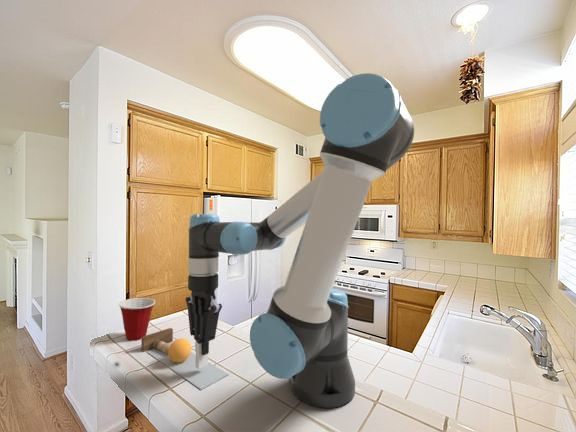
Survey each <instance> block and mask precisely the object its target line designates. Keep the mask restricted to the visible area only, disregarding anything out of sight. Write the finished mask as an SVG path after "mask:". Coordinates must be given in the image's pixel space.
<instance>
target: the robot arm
mask: <svg viewBox="0 0 576 432" xmlns="http://www.w3.org/2000/svg"><path fill="white" fill-rule="evenodd" d="M414 124H415V123H414V121H413V118H412V116H411V114H410V113H409V112H408V110H407V108H406V106H405V104H404V102H403V100H402V96H401V95H400V92H399V91H398V89H397V88H396V87H395V86H394V85H393V84H392V83H391V82H390V81H389V80H388V79H387V78H385V77H384V76H382V75H380V74H376V73H369V72H368V73H367V72H366V73H359V74H355V75H352V76H350V77H348V78H346V79H344V81H343V82H342V83H341V82H340V83H339V84H337V85H336V86H335V87H334V88H333V89H332V90H331V91H330V92H329V94H327V97H326V98H325V99H324V101H323V103H322V105H321V109H320V113H319V126H320V127H321V131H322V135H323V136H324V141H323V143H322V147H321V149H320V152H319V156H320V158H321V162H322V163H323V166H324V168H323V170H322V171H321V172H320V173H318V175H316V176H314V178H313V179H312V180H310V181H309V182H308V183H306V184H305V185H304V186H303V187H302V188H300V189H299V190H298V191H297V192H296V193H294V194H293V195H292V196H291V197H290V198H289V199H287V200H286V201H285V202H283V204H281V205H280V206H279V207H278V208H276V209H275V210H274V211H273V212H271V214H269V215H267V217H265V218H264V219H263V220H261V221H260V222H259V221H258V222H246V221H245V222H244V221H228V222H227V221H226V222H224V221H223V222H220V216H219V215H217V214H205V213H203V214H199V213H198V214H197V213H196V214H192V215H191V216H190V218H189V227H188V260H187V261H188V263H187V265H188V267H187V268H188V269H187V273H188V274H189V275H188V276H187V289H188V291H190V296H186V297H185V303H186V306H187V312H188V313H187V314H188V315H187V316H188V324H189V325H188V326H189V334H190V336H193V339H194V341H195V355H196V362H195V367H196V368H198V369H200V368H202V367H204V366H206V365H208V362H209V352H210V342H211V341H213V340H215V338H216V333H217V329H218V328H217V327H218V322H219V317H220V312H221V310H222V308H223V305H222V303H218V302H217V301H216V298H217V297H216V293H215V291H216V289H218V288H219V274H218V272H219V256H220V253H223V254H231V255H233V256H236V255H237V256H238V255H248V254H250V253H251V252H255V251H256V252H257V251H268V250H269V251H271V250H274V249H278V248H280V247H281V246H283V245H284V243H285V241H286V238H288V236H290V235H291V234H293V233H294V232H295V231H296V230H298V229H299V228H301V227H302V226H304V227H303V230H302V232H301V236H300V239H299V241H298V244H297V249H296V251H295V254H294V257H293V260H292V263H291V266H290V268H289V271H288V275H287V278H286V280H285V283H284V285H283V286H280V287H278V288H276V289H275V290H274V292H273V295H272V297H271V300H270V303H269V307H268V309H267V311H266V312H264V313H261V314H259V315H258V316H257V317H255V319H254V320H253V322H252V324H251V326H250V330H249V342H250V346H251V349H252V352H253V355H254V357H255V359H256V361H257V363H258V364H259V366H260V367H261V368H262V369H263V371H266V373H268V374H269V375H270V376H272V377H274V378H277V379H279V380H280V379H285V380H287V379H290V390H291V392H292V393H293V395H294V396H295V397H296V398H297V399H298V400H300V401H301V402H303V403H304V404H307V405H310V406H313V407H316V408H324V409H325V408H327V409H328V408H329V409H330V408H331V409H332V408H338V407H341V406H342V407H343V406H344V405H346V404H348V403H349V402H351V401H352V400H353V398H354V397H355V394H356V380H355V375H354V372H353V368H352V365H351V362H350V359H349V356H348V348H349V347H348V345H349V344H348V340H349V339H348V338H349V337H348V335H349V333H348V328H349V323H348V322H349V321H348V320H349V319H348V318H349V314H348V313H349V305H348V296H347V294H346V293H345V292H344V291H342V290H340V289H335V288H334V285H335V282H336V280H337V276H338V274H339V271H340V268H341V266H342V263H343V260H344V258H345V255H346V253H347V249H348V248H349V245H350V241H351V240H352V236H353V234H354V231H355V228H356V225H357V223H358V220H359V217H360V214H361V212H362V210H363V207H364V204H365V202H366V199H367V196H368V194H369V191H370V188H371V186H372V183H373V182H374V181H375V180H377V179H379V178H381V177H383V176H385V174H386V173H387V170H388V169H390V168H392V167H393V166H394V165H395V164H397V163H398V162H399V161H400V160H401V159H402V158H403V157H404V156H405V155H406V154H407V152H408V151H409V149H410V148H411V146H412V144H413V141H414V137H415V126H414Z"/></svg>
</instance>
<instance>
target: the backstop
mask: <svg viewBox="0 0 576 432" xmlns="http://www.w3.org/2000/svg"><path fill="white" fill-rule="evenodd" d="M173 331H174V329H173V328H172V327H169V328H166V329H163V330H160V331H157V332H153V333H150V334H146V336H143V337H142V339H141V344H140V345H141V347H140V348H141V352H143V353H144V352H148V351H151V350H154V349H155V348H154V347H153V342H154V341H155V340H157V339H158V340H161V341H163V342H165V343H168V344H170V343H173V342H174V341H173V340H174V336H173V335H174V332H173Z"/></svg>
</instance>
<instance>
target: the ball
mask: <svg viewBox="0 0 576 432" xmlns="http://www.w3.org/2000/svg"><path fill="white" fill-rule="evenodd" d="M171 343H172V344H171V345H170V347H169V351H168V355H169V358H170V359H171V360H172V361H173V362H177V363H179V362H183V361H185V360H186V359H187V358H188V357H189V355H190V353H192V344H191V341H189V340H188V339H186V338H183V337H182V338H178V339H175V340H174V341H173V342H171Z"/></svg>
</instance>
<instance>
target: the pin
mask: <svg viewBox="0 0 576 432" xmlns="http://www.w3.org/2000/svg"><path fill="white" fill-rule="evenodd" d="M153 347H154V348H153V349H157V350H160V351H162V352H164V353H166V354H168V351H169V347H170V343H165V342H163V341H161V340H158V339H157V340H155V341H154V342H153Z"/></svg>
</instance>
